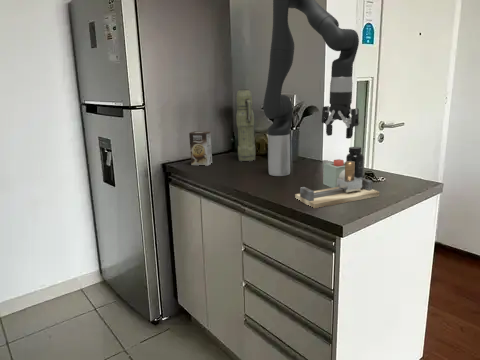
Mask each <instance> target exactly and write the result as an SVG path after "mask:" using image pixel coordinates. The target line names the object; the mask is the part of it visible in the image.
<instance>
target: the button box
mask: <svg viewBox="0 0 480 360" xmlns="http://www.w3.org/2000/svg"><path fill="white" fill-rule="evenodd" d="M345 162H346V161H345ZM345 162H344V165H343V166H338V167H337V166H334V161H333V162H328V163H323V171H322V172H323V174H322V177H323V178H322V179H323V180H322V181H323V182H322V184H323V185H325V186H327V187H329V188H334V187H338V186H337V178H342V177H345Z"/></svg>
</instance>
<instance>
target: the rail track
mask: <svg viewBox="0 0 480 360" xmlns="http://www.w3.org/2000/svg"><path fill="white" fill-rule="evenodd" d="M358 179H361V180H362V188H361V190H358V191H352V192H344V189H343V188H339V189H338V187H334V188H331V187H329V188H322V189H318V190H313V189H310V188H308V187H305V186H302V187H300V188H299V189H300V190H299V193H295V194H294V196H295V197H294V198H296V199H295V200H297V199H298V200H297V201H299V200H300V201H299V202H301V203H303V204H305V205H307V206H308V205H309V207H310V206H311V207H310V208H312V207H313V209H318V208H319V207H320V208H324V206H325V207H329V206H335V205H340V204H345V203H350V202H355V201H360V200H366V199H371V198H376V197H380V191H378V190H376V189H373V180H370V179H368V178H365V177H360V178H358Z"/></svg>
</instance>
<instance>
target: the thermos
mask: <svg viewBox="0 0 480 360" xmlns="http://www.w3.org/2000/svg"><path fill="white" fill-rule="evenodd" d="M236 107H237V108H236V110H237V111H236V115H235V117H236V127H237V138H238V139H237V143H238V145H237V157H238V161H239V162H242V161H249V162H254V161H256V154H257V153H256V145H255V133H254V131H255V130H254V127H255V114H254V111H253V94H252V91H251V90H250V89H249V88H247V89H244V88H243V89H242V88H241V89H239V90H237V93H236ZM253 160H254V161H253Z"/></svg>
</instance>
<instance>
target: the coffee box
mask: <svg viewBox="0 0 480 360" xmlns="http://www.w3.org/2000/svg"><path fill="white" fill-rule="evenodd" d="M188 135H189V138H188V139H189V150H190V164H191V166H199V165H205V167H208V166H210V165H211V163H212V164H213V155H212V154H213V152H212V136H211V135H212V133H211V131H198V130H197V131H195V130H193V131H191V132H189V133H188Z"/></svg>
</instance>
